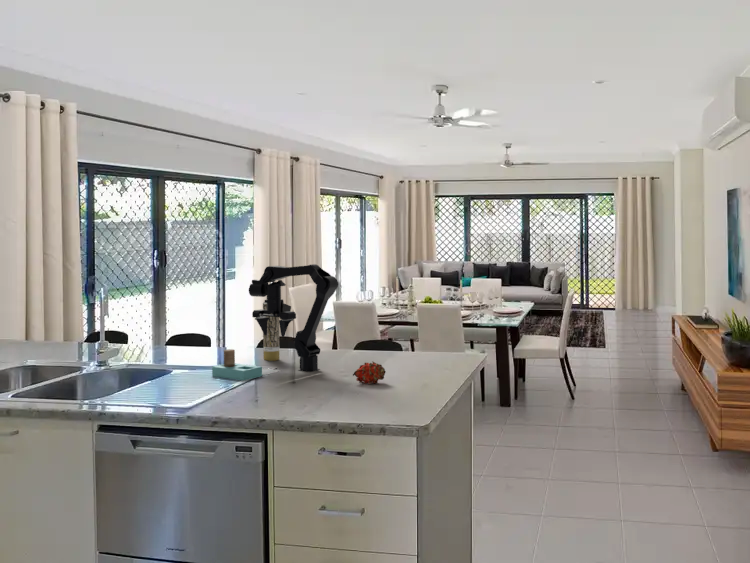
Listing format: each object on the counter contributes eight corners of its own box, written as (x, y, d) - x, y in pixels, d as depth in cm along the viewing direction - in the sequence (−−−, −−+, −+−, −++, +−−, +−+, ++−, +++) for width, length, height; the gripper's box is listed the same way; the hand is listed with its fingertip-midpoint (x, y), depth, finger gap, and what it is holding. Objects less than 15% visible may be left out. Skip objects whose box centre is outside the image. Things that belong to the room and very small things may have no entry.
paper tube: (276, 361, 317) (275, 302, 316) (261, 361, 319) (260, 302, 317) (281, 358, 324) (281, 301, 323) (266, 358, 325) (265, 301, 324)
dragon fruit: (388, 387, 270) (355, 393, 269) (384, 370, 276) (352, 376, 275) (387, 371, 265) (353, 377, 263) (383, 354, 271) (350, 360, 270)
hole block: (262, 377, 283) (261, 366, 282) (243, 381, 274) (243, 370, 274) (231, 373, 291) (231, 362, 291) (212, 377, 283) (212, 366, 283)
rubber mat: (281, 371, 294) (281, 370, 293) (264, 375, 285) (264, 374, 285) (262, 369, 299) (262, 368, 299) (245, 373, 291) (245, 372, 291)
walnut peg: (237, 375, 286) (236, 349, 285) (229, 377, 282) (229, 351, 282) (229, 374, 288) (229, 349, 287) (222, 376, 284) (221, 350, 284)
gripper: (304, 296, 302) (305, 335, 303) (269, 294, 312) (270, 332, 313) (286, 298, 293) (287, 338, 294) (251, 296, 303) (251, 335, 304)
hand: (274, 335), depth 301 cm, fingers open, 9 cm apart
